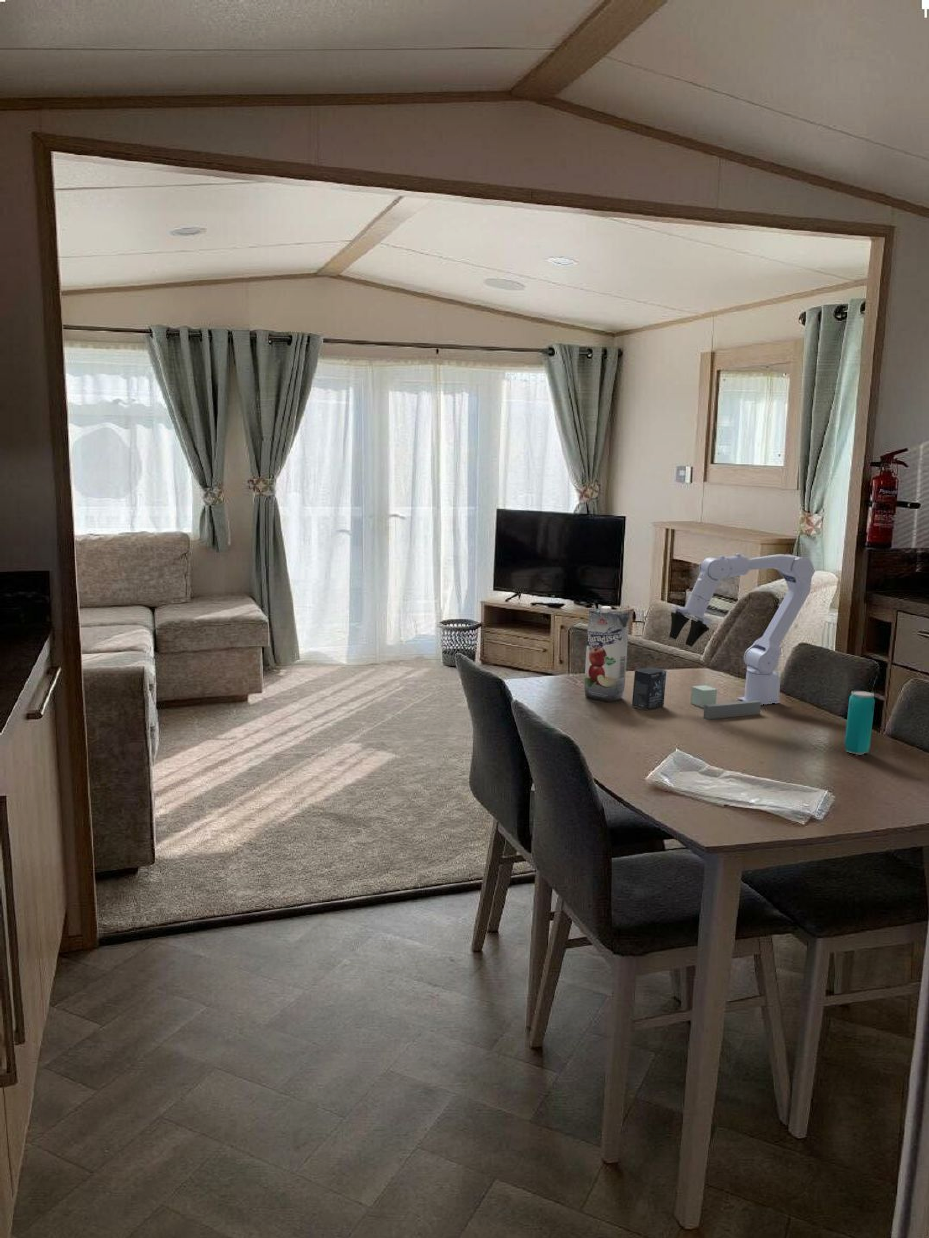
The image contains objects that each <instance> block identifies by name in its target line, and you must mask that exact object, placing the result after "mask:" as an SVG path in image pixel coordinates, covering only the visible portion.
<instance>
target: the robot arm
mask: <svg viewBox="0 0 929 1238" xmlns="http://www.w3.org/2000/svg"><path fill="white" fill-rule="evenodd" d="M698 565H699V566H698V570H699V574H698V576H697V579H696V581H695V584H694V586H693V588H692V590H691V593H690V595H689V597H688V599H687V601H686V604H685V606H684V607H682V606H680V605H677V604H676V605H675V607H674V609H673V611H671V613H670V617H671V621H670V622H671V624H670V625H671V626H670V632H669V638H670V639H673V640H676V639H678V637H679V635H680V634H681V631H682V629H683V628H684V627H685V625H687V623H688V622H689V621H690V628H689V632H688V635H687V637H686V640H685V645H686V646H688V647H691V648H692V647H693V646H694V645H695V644H696V642H697V641H698V640H699V639H700V638H701V636H703V635H704V634H705V633H707V632H708V631H709V630H710V626H711V624H712V622H713V619H711V618H709V617H707V616H705V613H706V611H707V609H708V607H709V605H710V603H711V601H712V597H713V595H714V593H715V592H716V589H717V586H718V585H719V582H720V581H722V580H724V579H725V578H730V577H737V576H738V577H739V576H746V575H747V574H748V573H749V572H750V571H753V570H768V569H774V570H777V571H778V572H779V574H780V575H781V576H782V578H783V580H784V581H785V583H786V585H787V587H788V588H787V589H788V591H787V593H786V594H785V596H784V598H783V599H782V601H781V603H780V604H779V607H778V608H777V609H776V612H775V614H774V615H773V617H772V619H771V621H770V622H769V624H768V626H767V628H766V629H765V631H764V632H763V635H762V636H760V637H759V638H757V639H756V640H755V641H754V642H753V644H752V645H751V646H750V647H748V648H747V649H746V650H745V652H744V654H743V662H744V663H745V665H746V673H745V674H746V677H745V686H744V696H738V697H737V700H740V701H752V700H757V701H760V702H761V706H763V704H764V705H773V704H772V703H775V704H780V703H781V700H779V698H780V690H781V687H780V686H781V678H780V676H779V674H778V673H777V672H776V669H777V668H778V665H779V659H780V657H781V655H782V652H781V647H780V646H781V644H782V642H783V640H784V639H785V637H786V635H787V633H788V632H789V629H790V628H791V626H792V624H793V623H794V621H795V620H796V617H797V616H798V614H799V613H800V611H801V608H802V607H803V605H804V603H805V601H806V600H807V598H808V596H810V595H809V594H810V593H811V587H812V578H813V577H814V574H815V572H816V570H815V568H814V564H813V563H812V561H811V560H810V558H808V557H804V556H803V557H802V556H798V555H793V554H790V553H785V554H784V553H778V554H777V553H776V554H772V555H770V554H769V555H765V556H758V557H757V556H756V557H751V558H748V557H747V555H745V554H742V553H740V552H739V553H734V555H731V556H724V555H719V556H718V558H715V557H707V558H705V559H703V561H702V562H699V564H698ZM693 616H694V617H693ZM690 619H691V620H690Z"/></svg>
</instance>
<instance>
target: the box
mask: <svg viewBox="0 0 929 1238" xmlns="http://www.w3.org/2000/svg"><path fill="white" fill-rule="evenodd" d="M666 679H667V670H665V669H662V668H657V667H652V666H649V667H645V668H640V669H634V677H633V687H632V688H633V689H632V701H631V706H632V707H634V708H637V709H641V710H646V711H649V710H652V709H656V708H660V707H661V708H662V707H664V703H665V692H666V691H665V690H666Z"/></svg>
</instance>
